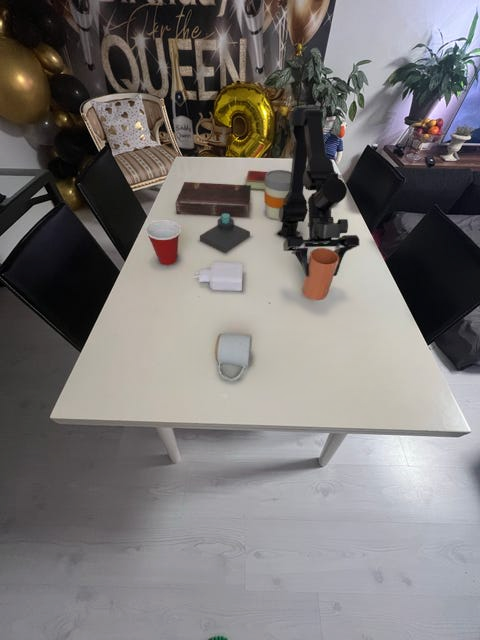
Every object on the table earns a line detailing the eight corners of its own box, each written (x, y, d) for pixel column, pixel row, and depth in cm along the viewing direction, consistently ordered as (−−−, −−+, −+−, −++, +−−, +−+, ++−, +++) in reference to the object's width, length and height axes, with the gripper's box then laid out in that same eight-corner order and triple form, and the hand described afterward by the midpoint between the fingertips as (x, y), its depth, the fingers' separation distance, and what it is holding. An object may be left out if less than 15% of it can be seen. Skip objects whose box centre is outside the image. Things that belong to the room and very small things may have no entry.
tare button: (225, 218, 112) (225, 212, 110) (231, 221, 110) (231, 215, 108) (220, 222, 110) (219, 215, 108) (226, 224, 109) (226, 218, 107)
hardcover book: (247, 178, 145) (248, 169, 142) (290, 181, 144) (292, 172, 141) (245, 189, 137) (245, 179, 134) (291, 192, 136) (292, 183, 133)
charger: (195, 271, 96) (242, 273, 96) (192, 290, 90) (241, 292, 90) (194, 259, 92) (242, 261, 92) (190, 278, 86) (242, 280, 86)
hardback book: (176, 214, 120) (175, 202, 117) (185, 193, 133) (184, 181, 129) (248, 218, 119) (248, 206, 116) (250, 196, 132) (250, 185, 128)
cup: (309, 279, 88) (318, 244, 79) (331, 290, 85) (343, 255, 76) (297, 292, 84) (305, 257, 75) (319, 304, 81) (330, 268, 72)
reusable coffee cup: (257, 217, 120) (260, 179, 109) (266, 204, 128) (270, 167, 117) (287, 224, 117) (294, 185, 106) (295, 209, 125) (301, 172, 114)
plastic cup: (178, 272, 95) (173, 239, 86) (147, 267, 97) (138, 234, 88) (189, 253, 103) (185, 221, 94) (159, 248, 104) (153, 216, 95)
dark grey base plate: (225, 224, 116) (224, 215, 113) (250, 236, 111) (251, 226, 108) (199, 240, 108) (198, 230, 105) (225, 253, 103) (225, 243, 100)
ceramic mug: (219, 344, 76) (218, 324, 70) (251, 347, 76) (253, 328, 70) (212, 380, 69) (210, 362, 63) (247, 384, 69) (248, 366, 63)
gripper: (292, 206, 69) (293, 274, 70) (370, 205, 70) (370, 272, 71) (282, 220, 80) (283, 278, 81) (349, 219, 81) (350, 276, 82)
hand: (321, 276), depth 78 cm, fingers closed on cup, 7 cm apart
